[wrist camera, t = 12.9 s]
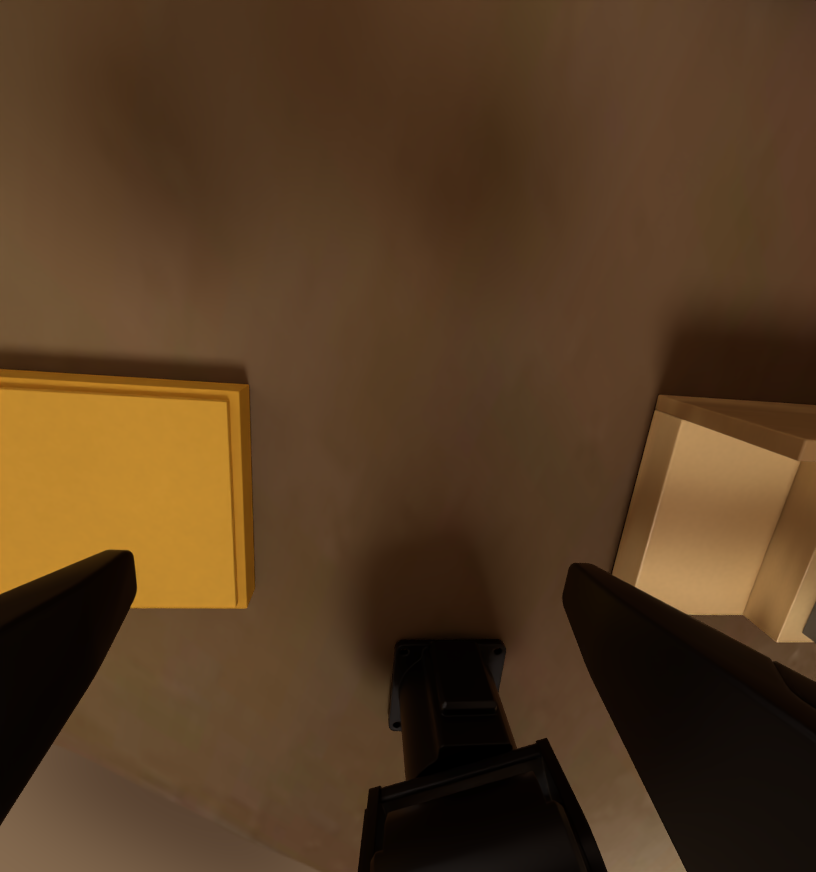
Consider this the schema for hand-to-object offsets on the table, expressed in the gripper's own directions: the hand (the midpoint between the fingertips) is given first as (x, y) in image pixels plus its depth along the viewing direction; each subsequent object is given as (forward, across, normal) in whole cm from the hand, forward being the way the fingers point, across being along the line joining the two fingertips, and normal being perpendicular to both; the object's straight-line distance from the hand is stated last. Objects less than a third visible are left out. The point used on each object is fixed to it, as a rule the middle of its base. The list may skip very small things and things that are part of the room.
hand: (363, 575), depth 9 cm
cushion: (+12, +11, +4) cm, 17 cm away
